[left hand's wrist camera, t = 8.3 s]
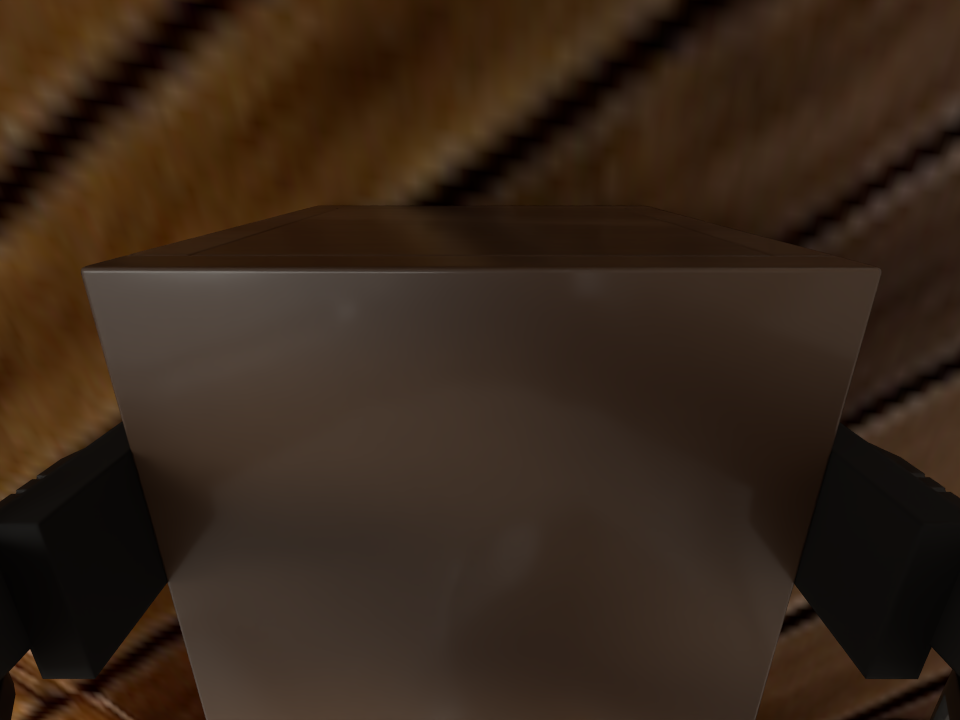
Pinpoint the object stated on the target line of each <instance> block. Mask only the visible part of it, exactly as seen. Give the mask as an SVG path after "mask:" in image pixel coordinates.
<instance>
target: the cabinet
mask: <svg viewBox="0 0 960 720" xmlns="http://www.w3.org/2000/svg"><path fill="white" fill-rule="evenodd" d="M881 274H882V272H881V269H880V268H878V267H875V266H872V265H868V264H864V263H860V262H856V261H853V260H849V259H845V258H841V257H837V256H832V255H830V254H826V253H822V252H819V251H815V250H811V249H807V248H803V247H800V246H796V245H792V244H788V243H784V242H781V241H777V240H773V239H769V238H765V237H762V236H758V235H754V234H750V233H746V232H743V231H739V230H735V229H731V228H727V227H724V226H720V225H716V224H712V223H708V222H705V221H701V220H697V219H693V218H689V217H686V216H682V215H678V214H674V213H670V212H667V211H663V210H659V209H655V208H651V207H648V206H315V207H311V208H307V209H303V210H299V211H295V212H292V213H288V214H284V215H280V216H276V217H272V218H269V219H265V220H261V221H257V222H253V223H249V224H245V225H242V226H238V227H234V228H230V229H226V230H222V231H219V232H215V233H211V234H207V235H203V236H199V237H195V238H192V239H188V240H184V241H180V242H176V243H172V244H168V245H165V246H161V247H157V248H153V249H149V250H145V251H142V252H138V253H134V254H131V255H129V256H123V257H119V258H115V259H111V260H108V261H104V262H100V263H96V264H92V265H88V266H85V267H83V268H82V269H81V275H82V278H83V282H84V285H85V289H86V292H87V296H88V299H89V303H90V307H91V310H92V314H93V317H94V321H95V324H96V328H97V332H98V335H99V339H100V342H101V346H102V349H103V353H104V357H105V360H106V364H107V367H108V371H109V374H110V378H111V382H112V385H113V389H114V392H115V396H116V399H117V403H118V406H119V410H120V414H121V417H122V421H123V424H124V428H125V431H126V435H127V439H128V442H129V446H130V449H131V453H132V456H133V460H134V464H135V467H136V471H137V474H138V478H139V481H140V485H141V489H142V492H143V496H144V499H145V503H146V506H147V510H148V514H149V517H150V521H151V524H152V528H153V531H154V535H155V538H156V542H157V546H158V549H159V553H160V556H161V560H162V563H163V567H164V571H165V574H166V578H167V581H168V585H169V588H170V592H171V596H172V599H173V603H174V606H175V610H176V613H177V617H178V621H179V624H180V628H181V631H182V635H183V638H184V642H185V645H186V649H187V653H188V656H189V660H190V663H191V667H192V670H193V674H194V678H195V681H196V685H197V688H198V692H199V695H200V699H201V703H202V706H203V710H204V713H205V717H206V720H756V716H757V712H758V709H759V705H760V702H761V698H762V695H763V691H764V688H765V684H766V681H767V677H768V674H769V670H770V666H771V663H772V659H773V656H774V652H775V649H776V645H777V642H778V638H779V635H780V631H781V628H782V624H783V620H784V617H785V613H786V610H787V606H788V603H789V599H790V596H791V592H792V589H793V585H794V582H795V578H796V574H797V571H798V567H799V564H800V560H801V557H802V553H803V550H804V546H805V543H806V539H807V536H808V532H809V528H810V525H811V521H812V518H813V514H814V511H815V507H816V504H817V500H818V497H819V493H820V489H821V486H822V482H823V479H824V475H825V472H826V468H827V465H828V461H829V458H830V454H831V451H832V447H833V443H834V440H835V436H836V433H837V429H838V426H839V422H840V419H841V415H842V412H843V408H844V405H845V401H846V397H847V394H848V390H849V387H850V383H851V380H852V376H853V373H854V369H855V366H856V362H857V359H858V355H859V351H860V348H861V344H862V341H863V337H864V334H865V330H866V327H867V323H868V320H869V316H870V313H871V309H872V305H873V302H874V298H875V295H876V291H877V288H878V284H879V281H880V277H881Z"/></svg>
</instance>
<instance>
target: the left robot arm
mask: <svg viewBox="0 0 960 720" xmlns="http://www.w3.org/2000/svg"><path fill="white" fill-rule="evenodd" d="M16 491H17V492H16V494H10V495H9V496H7V497H6V498H5V499H3V500H2V501H0V720H11V716H12V711H13V705H14V700H15V688H14V683H13V681H12V678H11V676H10V674H9V671H10V670H11V669H12V668H13V667H14V666H15V664H16V663H17V662H18V661H19V660H20V659H21V658H22V657H23V656H24V655H25V654H26V653H27V652H28V651H29V649H30V650H31V652H32V654H33V657H34V659H35V661H36V664H37V666H38V669H39V671H40V673H41V676H42V678H43V679H95V678H96V677H97V675H98V674H99V673H100V671H101V670H102V669H103V667H104V666H105V665H106V663H107V662H108V661H109V659H110V658H111V657H112V655H113V654H114V653H115V651H116V650H117V649H118V647H119V646H120V645H121V643H122V642H123V641H124V639H125V638H126V637H127V635H128V634H129V633H130V631H131V630H132V629H133V627H134V626H135V625H136V623H137V622H138V621H139V619H140V618H141V617H142V615H143V614H144V613H145V611H146V610H147V609H148V607H149V606H150V605H151V603H152V602H153V601H154V599H155V598H156V597H157V595H158V594H159V593H160V591H161V590H162V589H163V587H164V586H165V585H166V583H167V582H168V581H167V578H166V574H165V571H164V567H163V563H162V560H161V556H160V553H159V549H158V546H157V542H156V538H155V535H154V531H153V528H152V524H151V521H150V517H149V514H148V510H147V506H146V503H145V499H144V496H143V492H142V489H141V485H140V481H139V478H138V474H137V471H136V467H135V464H134V460H133V456H132V453H131V449H130V446H129V442H128V439H127V435H126V431H125V428H124V424H123V421H122V422H121V423H119V424H118V425H117V426H115V427H114V428H112V429H111V430H110V431H108V432H107V433H105V434H104V435H103V436H101V437H100V438H98V439H97V440H96V441H94V442H93V443H91V444H90V445H89V446H87V447H86V448H84V449H82V450H80V451H78V452H75V453H73V454H71V455H69V456H67V457H64V458H62V459H60V460H59V461H58V462H56V463H55V464H53V465H52V466H50V467H49V468H48V469H46V470H45V471H43V472H42V473H40V474H39V475H38V476H37V479H32V480H30V481H29V482H28V483H26V484H25V485H23V486H22V487H20V488H19V489H17V490H16ZM794 584H795V585H796V587H797V588H798V589H799V591H800V592H801V593H802V595H803V596H804V597H805V599H806V600H807V601H808V603H809V604H810V605H811V607H812V608H813V609H814V611H815V612H816V613H817V615H818V616H819V617H820V619H821V620H822V621H823V623H824V624H825V625H826V626H827V628H828V629H829V630H830V632H831V633H832V634H833V636H834V637H835V638H836V640H837V641H838V642H839V644H840V645H841V646H842V648H843V649H844V650H845V652H846V653H847V654H848V656H849V657H850V658H851V660H852V661H853V662H854V664H855V665H856V666H857V668H858V669H859V670H860V672H861V673H862V674H863V676H864V677H865V678H866V679H918V678H919V675H920V673H921V671H922V668H923V666H924V664H925V661H926V659H927V656H928V654H929V652H930V649H931V647H932V648H933V649H934V650H935V651H936V652H937V653H938V654H939V655H940V656H941V657H942V658H943V659H944V661H945V662H946V663H947V664H948V665H949V666H950V667H951V668H952V672H951V674H950V676H949V678H948V681H947V683H946V685H945V687H944V689H943V692H942V694H941V696H940V698H939V701H938V703H937V705H936V707H935V709H934V712H933V714H932V716H931V718H930V720H960V498H959V497H957V496H956V495H954V494H953V493H951V492H946V491H945V488H944V487H943V486H941V485H940V484H938V483H937V482H936V481H934V480H933V479H931V478H930V477H925V474H924V473H923V472H921V471H920V470H918V469H917V468H915V467H914V466H912V465H911V464H910V463H908V462H907V461H905V460H904V459H902V458H901V457H899V456H897V455H895V454H892V453H890V452H888V451H886V450H884V449H881V448H879V447H877V446H875V445H873V444H870V443H868V442H866V441H865V440H864V439H862V438H861V437H859V436H858V435H857V434H855V433H854V432H852V431H851V430H850V429H848V428H847V427H845V426H844V425H843V424H841V423H840V422H839V426H838V429H837V433H836V436H835V440H834V443H833V447H832V451H831V454H830V458H829V461H828V465H827V468H826V472H825V475H824V479H823V482H822V486H821V489H820V493H819V497H818V500H817V504H816V507H815V511H814V514H813V518H812V521H811V525H810V528H809V532H808V536H807V539H806V543H805V546H804V550H803V553H802V557H801V560H800V564H799V567H798V571H797V574H796V578H795V582H794Z"/></svg>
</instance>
